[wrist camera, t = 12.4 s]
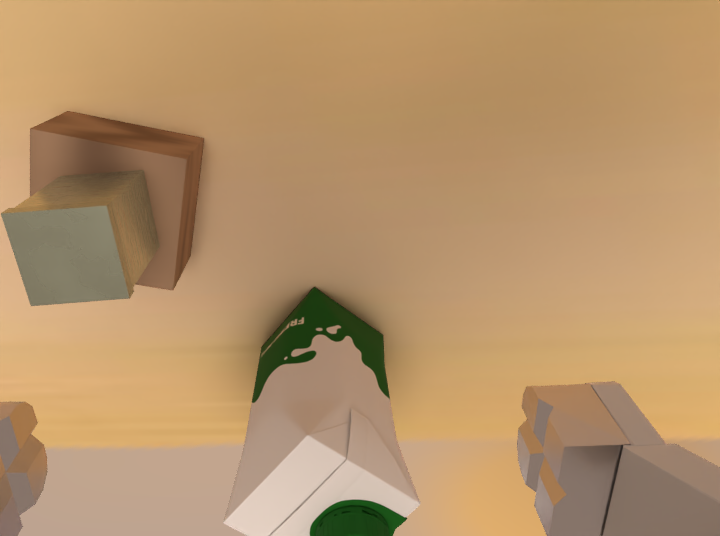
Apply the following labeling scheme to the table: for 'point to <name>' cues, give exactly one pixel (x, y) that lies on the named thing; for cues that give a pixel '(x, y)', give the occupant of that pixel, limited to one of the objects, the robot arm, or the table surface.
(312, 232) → the table surface
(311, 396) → the soya milk
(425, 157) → the table surface
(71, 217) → the grey wooden block
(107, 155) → the walnut block
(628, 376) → the table surface
